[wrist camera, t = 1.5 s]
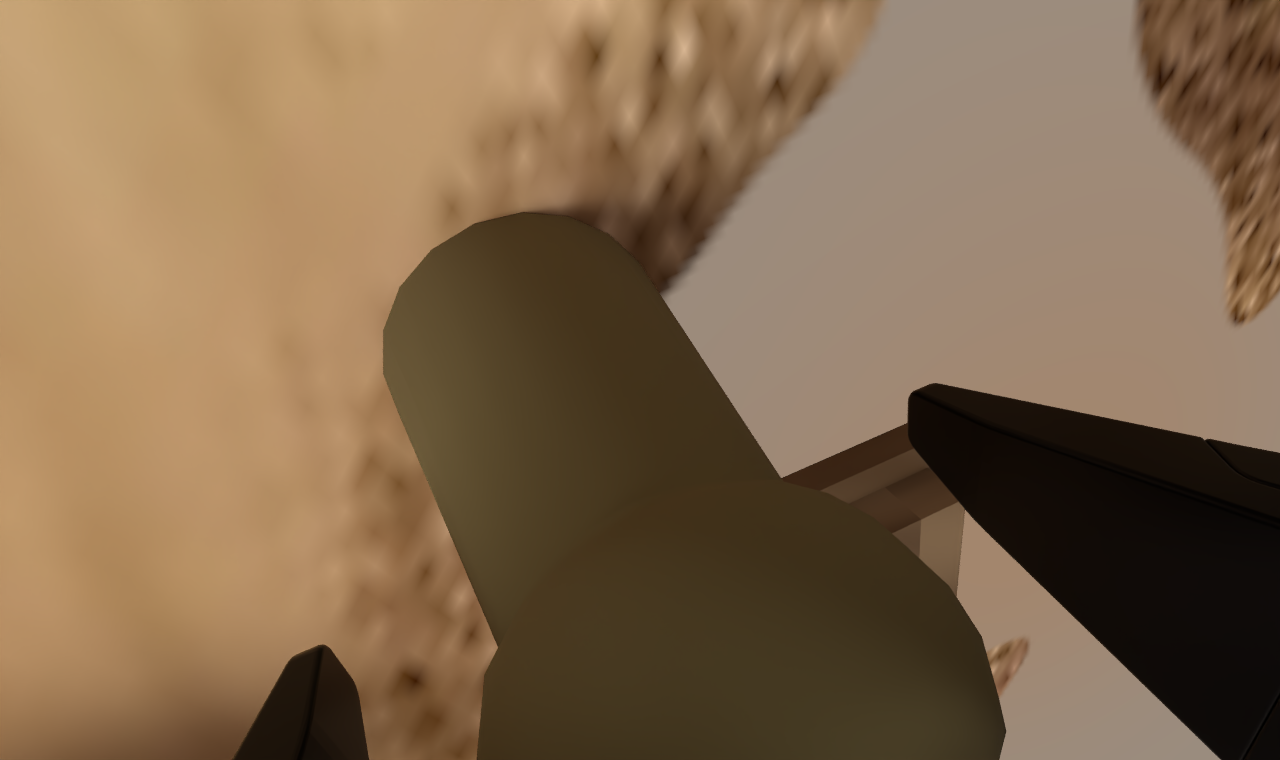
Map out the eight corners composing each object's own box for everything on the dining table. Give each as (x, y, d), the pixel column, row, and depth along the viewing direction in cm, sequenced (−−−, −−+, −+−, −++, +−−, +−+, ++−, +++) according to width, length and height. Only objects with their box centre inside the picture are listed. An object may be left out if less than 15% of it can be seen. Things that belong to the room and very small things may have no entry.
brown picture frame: (918, 665, 27) (964, 718, 25) (625, 821, 24) (650, 894, 22) (932, 412, 20) (998, 457, 18) (524, 590, 17) (547, 667, 15)
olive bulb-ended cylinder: (514, 512, 16) (722, 1135, 7) (310, 352, 13) (225, 1173, 4) (705, 352, 16) (1157, 782, 7) (553, 146, 13) (1061, 486, 4)
